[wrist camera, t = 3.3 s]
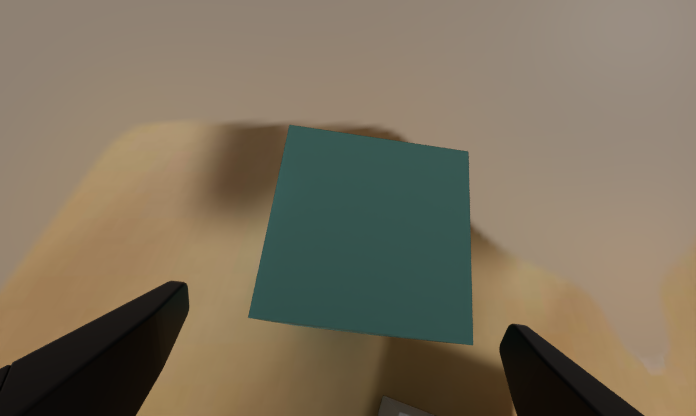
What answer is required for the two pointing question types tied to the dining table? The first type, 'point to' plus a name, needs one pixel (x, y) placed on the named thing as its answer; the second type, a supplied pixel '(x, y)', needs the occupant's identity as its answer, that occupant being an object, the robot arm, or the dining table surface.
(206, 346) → the dining table surface
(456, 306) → the teal brick
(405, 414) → the base brick
